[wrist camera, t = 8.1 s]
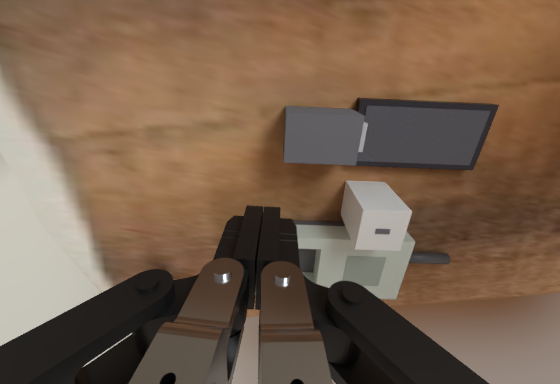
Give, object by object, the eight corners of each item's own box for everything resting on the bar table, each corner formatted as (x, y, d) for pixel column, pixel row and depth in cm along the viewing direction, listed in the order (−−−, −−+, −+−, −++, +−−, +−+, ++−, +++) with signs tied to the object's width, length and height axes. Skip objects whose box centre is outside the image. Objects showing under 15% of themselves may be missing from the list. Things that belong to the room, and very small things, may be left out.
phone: (488, 103, 23) (499, 105, 22) (464, 165, 25) (473, 170, 24) (355, 97, 23) (360, 98, 21) (345, 161, 25) (348, 165, 24)
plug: (360, 109, 23) (375, 116, 19) (352, 151, 25) (365, 165, 21) (285, 105, 23) (286, 112, 19) (283, 148, 24) (283, 162, 21)
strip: (454, 226, 28) (478, 248, 25) (432, 280, 32) (451, 305, 28) (239, 218, 28) (233, 239, 24) (241, 273, 31) (236, 298, 28)
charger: (384, 182, 26) (412, 212, 20) (376, 215, 28) (400, 251, 22) (345, 180, 26) (363, 210, 20) (340, 214, 28) (355, 249, 22)
